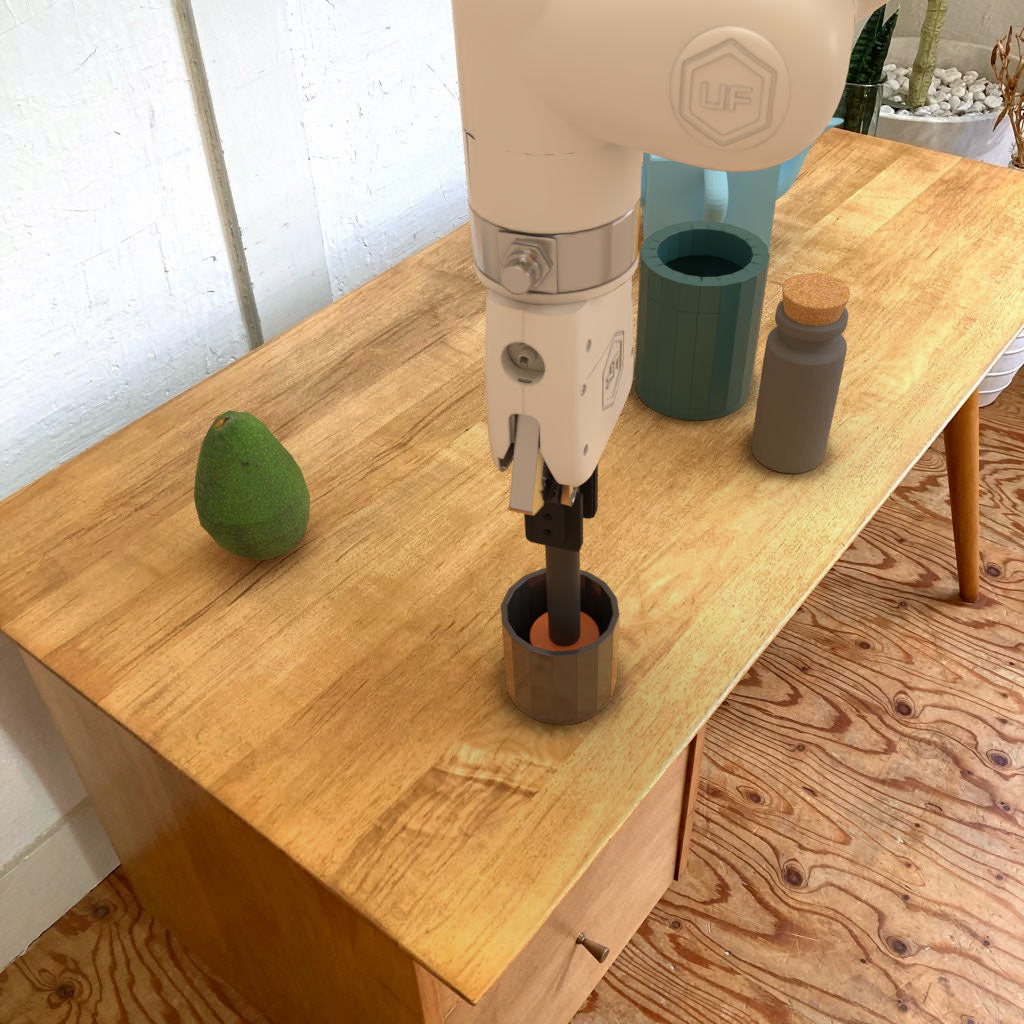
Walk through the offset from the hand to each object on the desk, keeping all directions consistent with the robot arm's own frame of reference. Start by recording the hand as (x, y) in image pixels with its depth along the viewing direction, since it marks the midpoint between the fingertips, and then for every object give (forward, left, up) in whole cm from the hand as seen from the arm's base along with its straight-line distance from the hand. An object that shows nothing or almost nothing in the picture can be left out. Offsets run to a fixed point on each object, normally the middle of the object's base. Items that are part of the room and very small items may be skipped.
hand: (562, 525), depth 59 cm
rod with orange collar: (0, 0, -14) cm, 14 cm away
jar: (-1, -34, -14) cm, 37 cm away
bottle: (-10, -27, -14) cm, 33 cm away
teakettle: (+4, -59, -14) cm, 61 cm away
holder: (0, 0, -14) cm, 14 cm away
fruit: (+25, -5, -14) cm, 29 cm away
